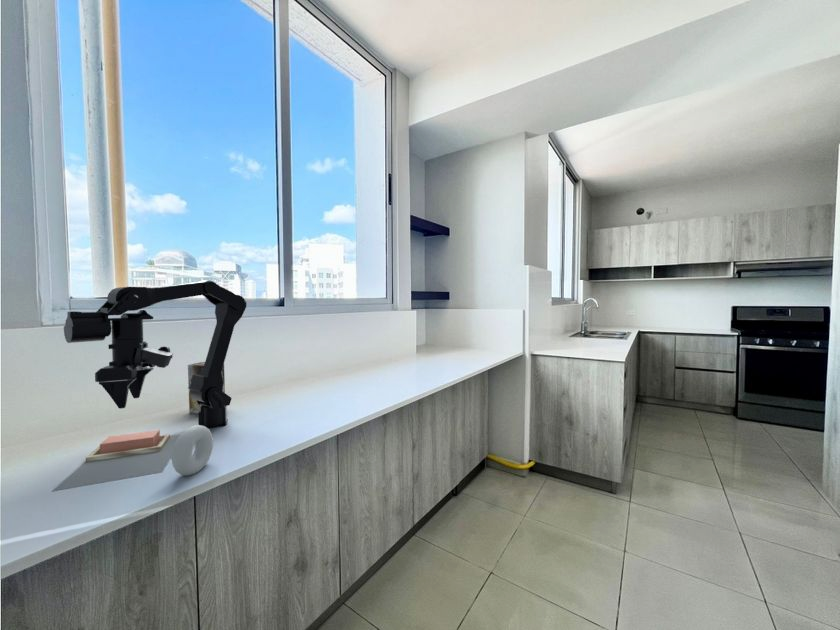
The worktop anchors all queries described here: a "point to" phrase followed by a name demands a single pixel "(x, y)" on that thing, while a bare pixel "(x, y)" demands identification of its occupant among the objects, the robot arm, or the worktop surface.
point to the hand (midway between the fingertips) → (129, 402)
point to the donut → (184, 447)
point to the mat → (120, 467)
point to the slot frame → (95, 456)
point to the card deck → (130, 442)
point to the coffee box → (192, 370)
